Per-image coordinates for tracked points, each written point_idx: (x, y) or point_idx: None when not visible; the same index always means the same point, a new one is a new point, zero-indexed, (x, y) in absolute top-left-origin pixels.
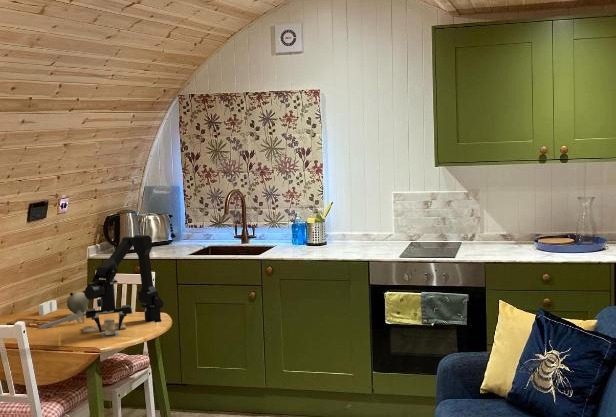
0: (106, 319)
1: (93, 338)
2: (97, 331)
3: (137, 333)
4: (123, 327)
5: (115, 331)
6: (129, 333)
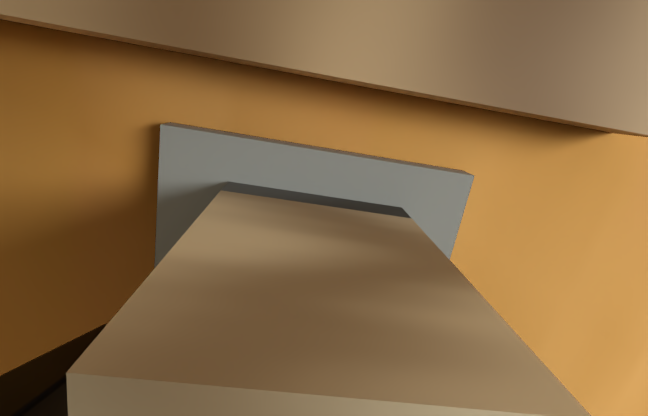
0: (212, 409)
1: (24, 320)
2: (72, 28)
3: (643, 380)
4: (632, 124)
5: (425, 181)
6: (568, 326)
